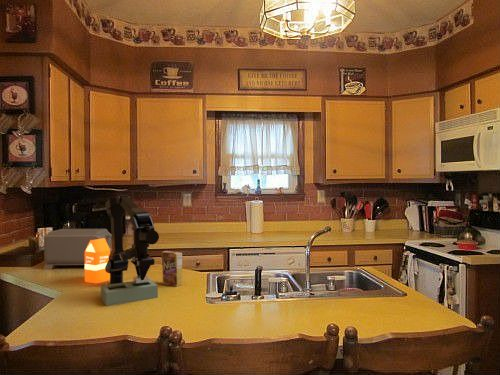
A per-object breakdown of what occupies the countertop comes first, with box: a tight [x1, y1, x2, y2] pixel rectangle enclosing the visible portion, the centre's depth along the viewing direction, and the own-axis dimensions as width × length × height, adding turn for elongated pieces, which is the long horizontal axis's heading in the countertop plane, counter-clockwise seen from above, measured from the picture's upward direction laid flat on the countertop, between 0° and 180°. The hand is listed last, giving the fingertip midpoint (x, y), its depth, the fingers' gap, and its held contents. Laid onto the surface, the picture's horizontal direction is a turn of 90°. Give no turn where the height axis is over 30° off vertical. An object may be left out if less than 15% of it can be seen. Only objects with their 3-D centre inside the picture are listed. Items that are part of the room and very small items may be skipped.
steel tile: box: [132, 275, 149, 283], centre depth 157 cm, size 4×5×2 cm
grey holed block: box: [100, 278, 159, 307], centre depth 155 cm, size 12×20×5 cm, turn 122°
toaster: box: [42, 228, 112, 271], centre depth 216 cm, size 19×35×20 cm, turn 91°
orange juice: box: [84, 238, 110, 284], centre depth 183 cm, size 8×9×20 cm
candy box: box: [161, 250, 183, 288], centre depth 175 cm, size 9×4×15 cm, turn 60°
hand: (140, 278), depth 157 cm, fingers closed on steel tile, 4 cm apart
